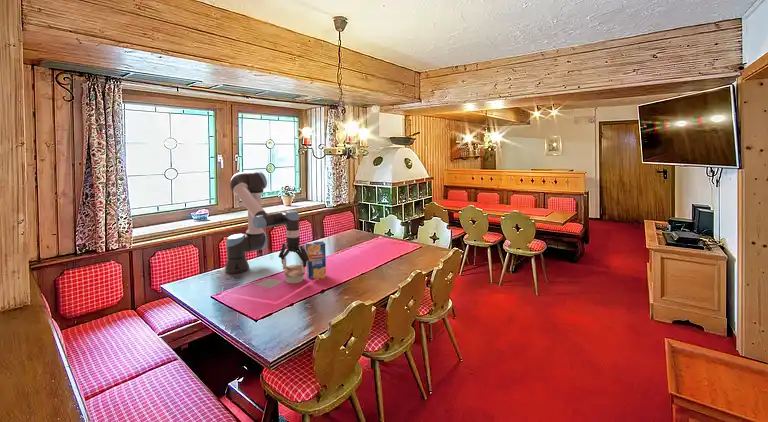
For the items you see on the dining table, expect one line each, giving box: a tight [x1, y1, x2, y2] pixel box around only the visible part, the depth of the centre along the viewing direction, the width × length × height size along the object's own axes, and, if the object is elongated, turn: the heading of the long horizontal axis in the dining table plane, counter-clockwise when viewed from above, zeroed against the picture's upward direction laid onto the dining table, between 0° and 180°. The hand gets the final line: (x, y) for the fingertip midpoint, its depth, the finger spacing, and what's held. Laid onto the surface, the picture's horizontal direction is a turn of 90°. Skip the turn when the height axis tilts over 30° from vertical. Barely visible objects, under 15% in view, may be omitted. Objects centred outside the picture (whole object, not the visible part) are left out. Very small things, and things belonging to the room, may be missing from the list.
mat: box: [255, 278, 284, 289], centre depth 232 cm, size 12×12×1 cm
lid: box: [284, 264, 306, 278], centre depth 236 cm, size 12×12×4 cm
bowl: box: [285, 275, 304, 284], centre depth 237 cm, size 10×10×5 cm
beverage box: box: [305, 240, 327, 280], centre depth 244 cm, size 7×11×22 cm, turn 111°
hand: (294, 270), depth 236 cm, fingers open, 13 cm apart
